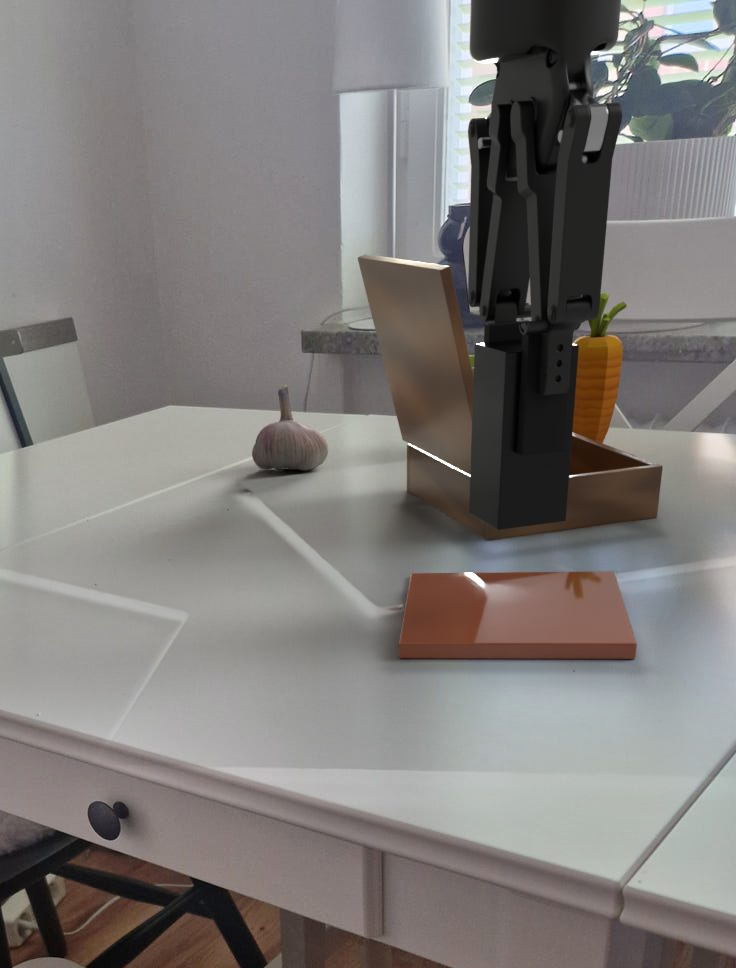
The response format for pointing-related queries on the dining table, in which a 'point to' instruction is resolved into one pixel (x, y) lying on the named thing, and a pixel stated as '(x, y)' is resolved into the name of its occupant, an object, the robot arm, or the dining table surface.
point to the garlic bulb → (289, 442)
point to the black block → (513, 446)
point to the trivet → (516, 616)
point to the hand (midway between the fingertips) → (521, 442)
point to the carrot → (597, 375)
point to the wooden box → (591, 491)
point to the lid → (423, 354)
